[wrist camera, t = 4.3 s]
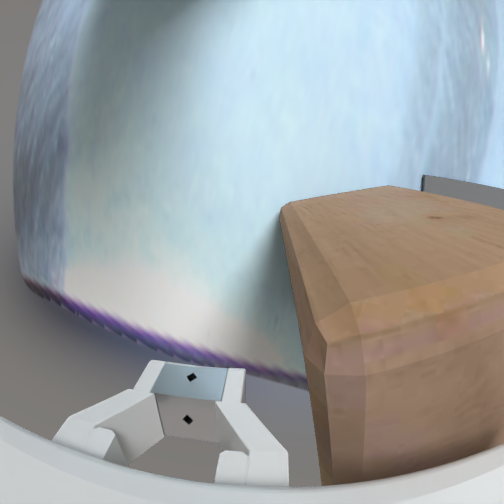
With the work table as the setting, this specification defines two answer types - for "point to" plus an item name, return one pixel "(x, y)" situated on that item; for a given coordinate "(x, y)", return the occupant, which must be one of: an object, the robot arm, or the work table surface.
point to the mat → (464, 191)
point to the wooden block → (398, 328)
